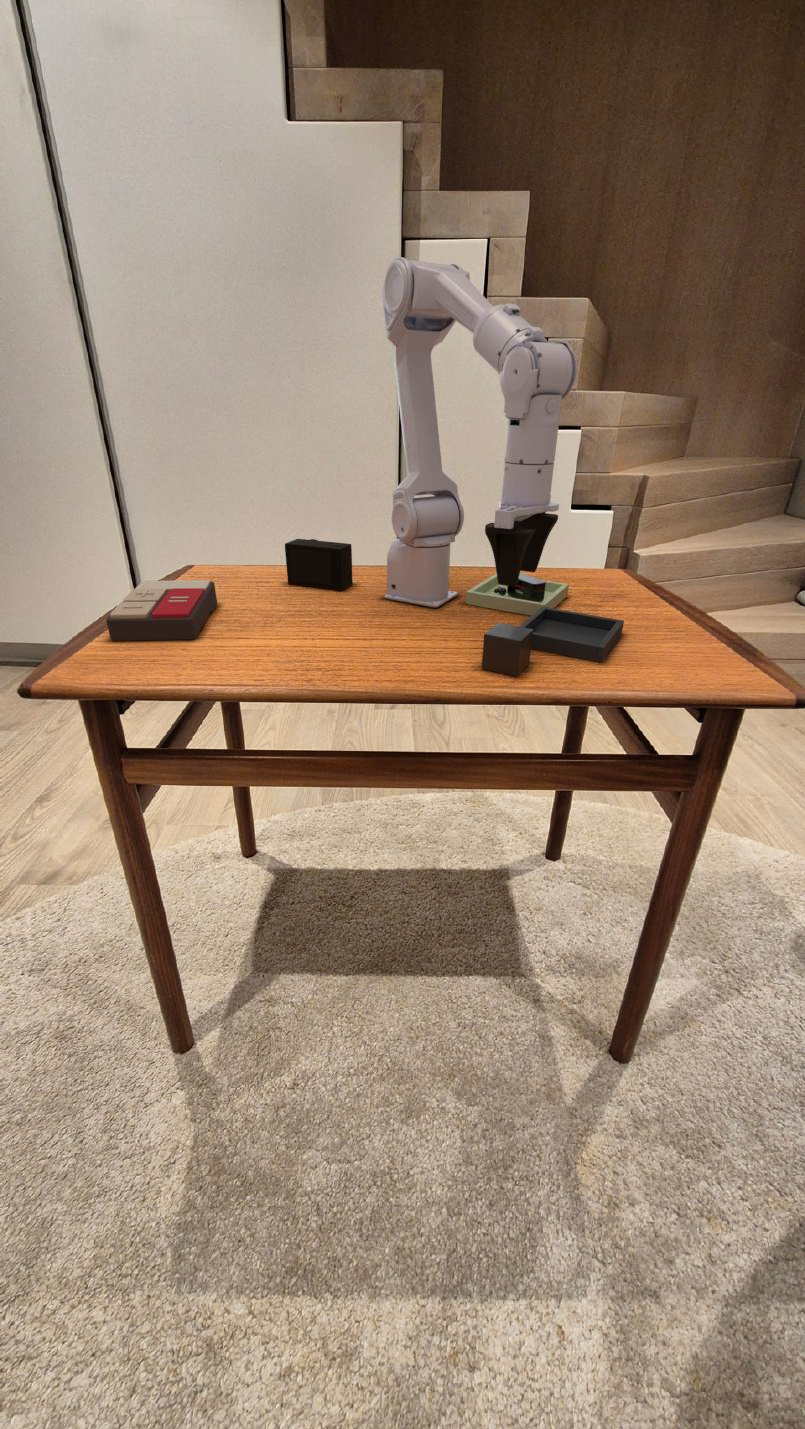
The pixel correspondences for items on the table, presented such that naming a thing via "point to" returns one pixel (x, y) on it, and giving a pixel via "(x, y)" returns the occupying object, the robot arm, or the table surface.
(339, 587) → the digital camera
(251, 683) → the table surface
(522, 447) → the robot arm
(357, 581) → the table surface
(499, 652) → the charcoal block
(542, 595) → the wireless earbuds
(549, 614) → the dark tray
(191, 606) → the calculator
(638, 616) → the table surface
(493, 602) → the pale tray
